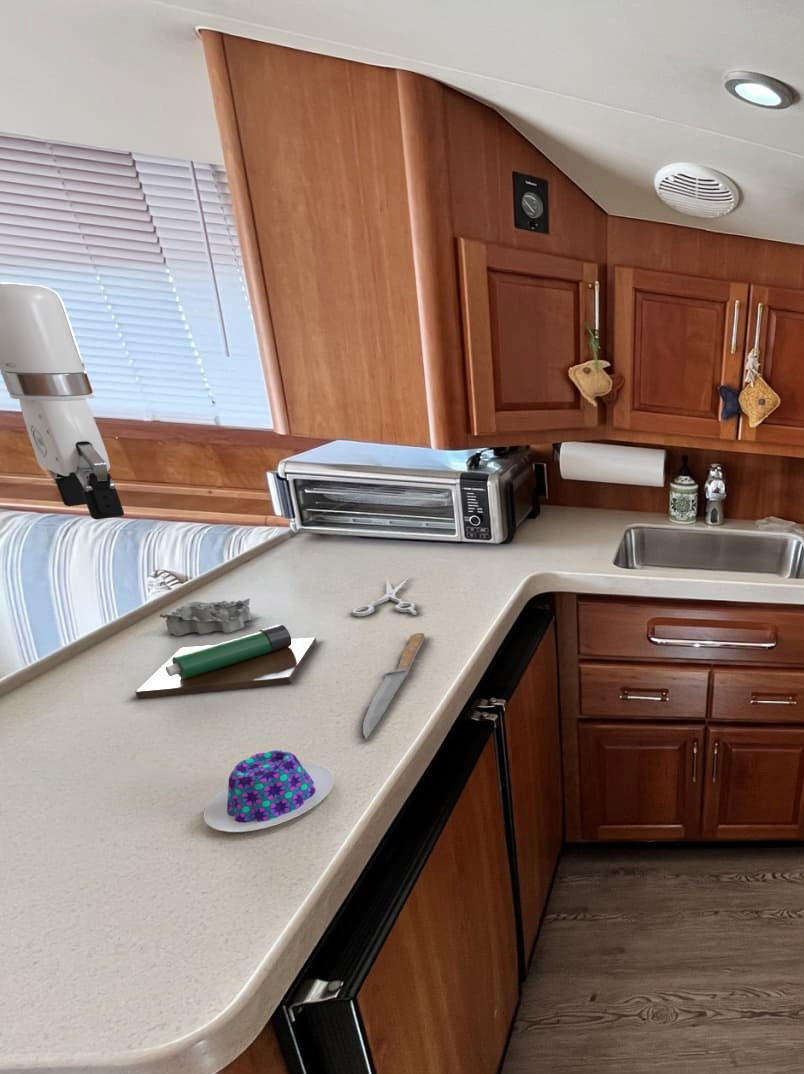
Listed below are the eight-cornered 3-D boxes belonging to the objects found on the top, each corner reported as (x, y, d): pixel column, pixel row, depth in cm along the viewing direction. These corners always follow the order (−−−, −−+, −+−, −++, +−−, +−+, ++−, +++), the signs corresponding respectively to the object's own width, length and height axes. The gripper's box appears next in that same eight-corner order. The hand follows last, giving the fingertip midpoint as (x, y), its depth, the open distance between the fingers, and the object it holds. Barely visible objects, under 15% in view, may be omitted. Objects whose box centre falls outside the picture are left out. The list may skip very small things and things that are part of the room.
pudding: (317, 755, 82) (308, 721, 80) (350, 800, 76) (341, 764, 74) (194, 799, 74) (181, 763, 72) (219, 854, 67) (205, 815, 65)
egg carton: (162, 637, 107) (154, 615, 105) (187, 618, 113) (180, 597, 112) (238, 633, 110) (231, 612, 108) (258, 615, 116) (252, 595, 115)
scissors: (349, 616, 117) (368, 577, 134) (350, 620, 118) (369, 581, 134) (415, 611, 121) (426, 574, 138) (416, 615, 122) (426, 577, 138)
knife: (405, 633, 112) (424, 632, 113) (406, 639, 112) (425, 638, 113) (348, 737, 85) (374, 734, 86) (350, 744, 86) (376, 741, 87)
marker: (177, 687, 92) (171, 665, 91) (163, 675, 94) (157, 653, 92) (293, 650, 105) (290, 630, 103) (280, 639, 106) (276, 620, 104)
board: (137, 699, 91) (135, 691, 90) (183, 654, 102) (181, 647, 102) (291, 684, 97) (289, 677, 97) (317, 643, 109) (315, 637, 108)
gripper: (-16, 379, 85) (33, 504, 91) (31, 394, 77) (81, 528, 84) (65, 378, 91) (105, 495, 97) (115, 392, 84) (155, 517, 90)
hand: (94, 510), depth 91 cm, fingers open, 9 cm apart
